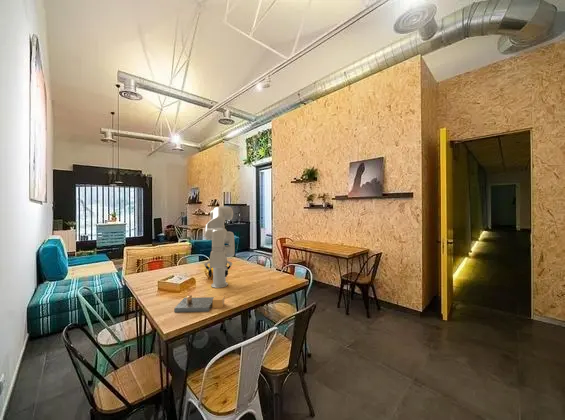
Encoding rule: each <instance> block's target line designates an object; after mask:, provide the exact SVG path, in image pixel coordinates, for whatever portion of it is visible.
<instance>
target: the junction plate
mask: <svg viewBox="0 0 565 420" xmlns="http://www.w3.org/2000/svg"><path fill="white" fill-rule="evenodd" d="M214 297H215V296H212V297H207V296H206V297H205V296H204V297H193V296H192V294H189V295H187V296H186V297H184V298H182V299H181V300H180V302H178V304H177V305H176V306H175V307H174V311H173V313H201V312H203V313H206V312H207V313H208V312H210V310H211V309H212V308H213V298H214Z"/></svg>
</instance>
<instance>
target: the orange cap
mask: <svg viewBox="0 0 565 420" xmlns="http://www.w3.org/2000/svg"><path fill="white" fill-rule="evenodd" d="M213 297H214V298H213V305H212V309H221V308H222V309H223V308H224V306H225V296H224V295H219V296H218V295H217V296H213Z"/></svg>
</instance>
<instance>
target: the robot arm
mask: <svg viewBox="0 0 565 420" xmlns="http://www.w3.org/2000/svg"><path fill="white" fill-rule="evenodd" d="M209 217H210V220H209V221H208V222H207V223H206V225H205V227H204V238H205V240H208V241H211V251H210V255H209V260H208V261H206V262H205V263H203V265H204V267H205V268H206V270H207V271H208V276H209V278H211V277H212V276H213V277H212V281H213V282H212V283H211V285H210V286H211V288H216V289H220V288H225V287H227V286H228V282H227V281H226V277H228V275H229V270H230V268H231V267H232V265H233V262H231V261H229V260H228V258H232V257H234V256H235V250H236V249H235V234H234V232H233V231H228V230H227V229H226V228H225V227H226V226H225V223H226V221H231V220H233V217H234V210H233V208H232V207H231V206H216V207H214V208H213V210H211V211H210V212H209ZM225 244H226V245H225ZM208 265H209V266H208ZM227 265H228V266H227Z"/></svg>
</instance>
